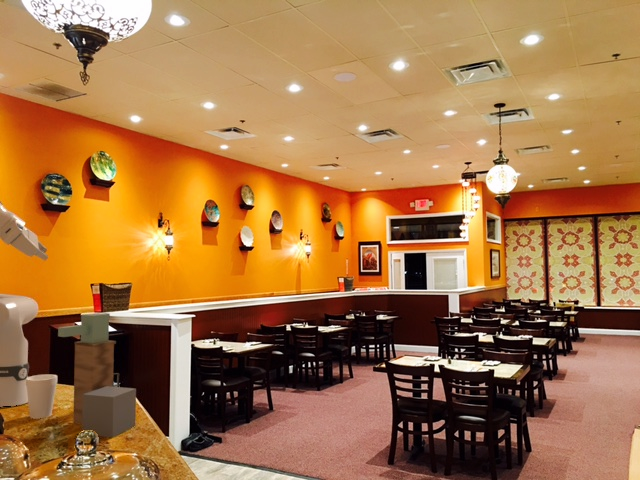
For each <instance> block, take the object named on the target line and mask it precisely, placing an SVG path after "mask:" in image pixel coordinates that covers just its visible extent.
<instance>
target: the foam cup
mask: <svg viewBox="0 0 640 480" xmlns="http://www.w3.org/2000/svg"><path fill="white" fill-rule="evenodd" d="M57 384H58V375H57V374H47V373H46V374H37V375H32V376H28V378H26V387H27V394H28V409H29V417H31V418H30V419H32V418H33V420H34V419H35V420H39V419H40V418H41V419H46V418H45V417H47V418H49V417H51V416H52V413H53V408H54V401H55V396H56V391H57V390H56V389H57Z"/></svg>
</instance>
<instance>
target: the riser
mask: <svg viewBox="0 0 640 480" xmlns="http://www.w3.org/2000/svg"><path fill="white" fill-rule="evenodd" d="M136 403H137V388H132V387H122V386H121V387H120V386H119V387H117V386H114V387H110V386H106V387H103V388H100V389H97V390H94V391H91V392H88V393H85V394H83V409H82V425H81V432H82V431H83V430H93V431H95V432H96V433H97V434H98V436H97V437H102V438H103V437H104V438H111V439H113V438H115V437H117V436H119V435H121V434H123V433H126V432H128V431H130V430H131V428H132V427H134V426H135V427H136V415H137V414H136V411H137V409H136V408H137V404H136ZM135 427H134V428H135ZM129 429H130V430H129ZM132 429H133V428H132ZM127 430H128V431H127Z"/></svg>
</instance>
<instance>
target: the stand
mask: <svg viewBox="0 0 640 480" xmlns="http://www.w3.org/2000/svg"><path fill="white" fill-rule="evenodd" d="M116 344H117V341H116V340H109V339H108V342H101V343H94V344H90V343H83V342H81V340H80V341H74V372H73V373H74V377H73V379H74V381H73V383H74V384H73V415H72V416H73V421H72V423H74V424H77V425H80V426H82V409H83V394H85V393H88V392H91V391H94V390H97V389H100V388H103V387H106V386H110V387H113V373H114V362H115V359H114V356H115V355H114V354H115V351H114V350H115V345H116ZM113 361H114V362H113Z"/></svg>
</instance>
